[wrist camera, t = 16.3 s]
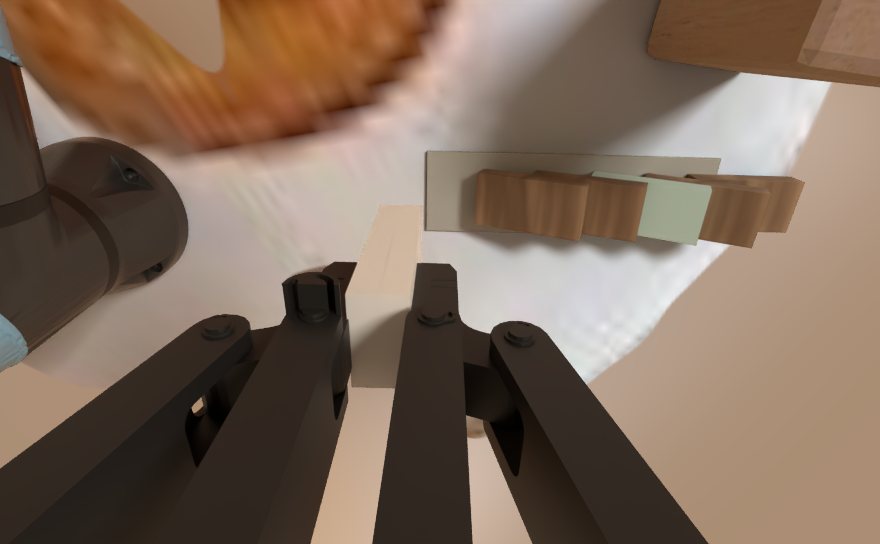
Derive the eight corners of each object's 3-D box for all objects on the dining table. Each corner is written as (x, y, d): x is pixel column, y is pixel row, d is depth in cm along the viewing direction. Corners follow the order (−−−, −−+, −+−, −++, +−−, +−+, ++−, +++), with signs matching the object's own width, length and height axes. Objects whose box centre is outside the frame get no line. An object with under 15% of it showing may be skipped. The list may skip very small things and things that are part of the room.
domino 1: (474, 224, 46) (578, 241, 42) (476, 173, 43) (587, 187, 40) (480, 217, 47) (581, 233, 44) (483, 168, 45) (590, 181, 42)
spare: (582, 225, 46) (695, 245, 42) (591, 175, 44) (711, 191, 40) (586, 219, 47) (695, 238, 44) (595, 170, 45) (711, 185, 41)
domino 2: (526, 225, 46) (635, 242, 42) (531, 174, 44) (647, 188, 40) (531, 219, 47) (636, 234, 44) (536, 170, 45) (648, 182, 42)
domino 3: (633, 228, 46) (751, 248, 42) (645, 177, 43) (771, 194, 40) (635, 221, 47) (749, 240, 44) (647, 172, 45) (767, 188, 41)
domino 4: (683, 229, 46) (785, 232, 46) (697, 179, 43) (805, 182, 43) (674, 222, 47) (772, 225, 47) (687, 173, 45) (790, 176, 45)
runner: (426, 229, 48) (426, 230, 48) (427, 150, 45) (427, 151, 44) (697, 235, 48) (698, 236, 48) (719, 158, 45) (721, 158, 45)
